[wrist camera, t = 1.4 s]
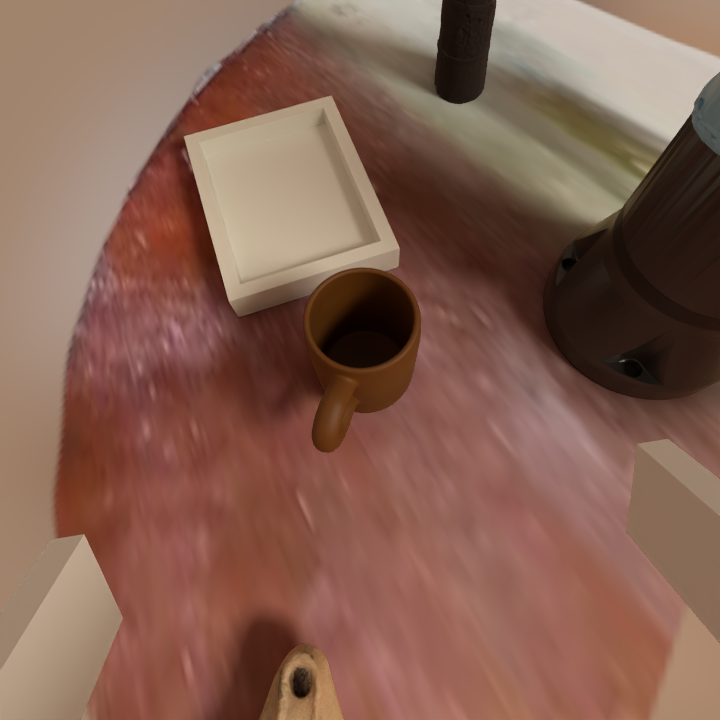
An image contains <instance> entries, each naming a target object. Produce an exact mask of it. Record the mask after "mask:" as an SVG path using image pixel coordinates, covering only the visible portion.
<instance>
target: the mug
mask: <svg viewBox="0 0 720 720" xmlns="http://www.w3.org/2000/svg"><path fill="white" fill-rule="evenodd" d="M303 330H304V335H305V342H306V346H307V350H308V353H309V356H310V359H311V362H312V364H313V367H314V370H315V372H316V375H317V377H318V380H319V382H320V385H321V387H322V388H323V390H324V394H323V397H322V399H321V401H320V404H319V406H318V409H317V412H316V415H315V419H314V423H313V428H312V440H313V444H314V446H315V447H316V448H317V449H318V450H320V451H321V452H328V453H329V452H332V451H334V450H335V449H337V448H338V447H339V446H340V444H341V442H342V440H343V439H344V437H345V434H346V432H347V430H348V427H349V424H350V421H351V419H352V416H353V413H354V412H359V413H370V412H376V411H380V410H382V409H385V408H387V407H389V406H390V405H392V404H393V403H395V402H396V401H397V400H398V399H399V398H400V397H401V396H402V395H403V394H404V392H405V391H406V389H407V387H408V386H409V383H410V381H411V378H412V374H413V369H414V366H415V361H416V357H417V352H418V347H419V342H420V334H421V315H420V309H419V306H418V303H417V300H416V298H415V296H414V295H413V293H412V292H411V290H410V289H409V288H408V287H407V286H406V285H405V284H404V283H403V282H402V281H401V280H399V279H398V278H397V277H395V276H393V275H392V274H390V273H387V272H385V271H382V270H379V269H374V268H365V267H362V268H351V269H347V270H343V271H340V272H338V273H335V274H333V275H332V276H330V277H328V278H327V279H325V280H324V281H323V282H322V283H321V284H319V285H318V286H317V288H316V289H315V290H314V291H313V293H312V294H311V296H310V297H309V299H308V301H307V303H306V306H305V309H304V314H303Z"/></svg>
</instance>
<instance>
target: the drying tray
mask: <svg viewBox="0 0 720 720" xmlns="http://www.w3.org/2000/svg"><path fill="white" fill-rule="evenodd" d="M184 139H185V142H186V146H187V150H188V153H189V157H190V161H191V164H192V168H193V172H194V175H195V179H196V183H197V187H198V190H199V194H200V198H201V201H202V205H203V209H204V212H205V216H206V220H207V223H208V227H209V231H210V234H211V238H212V242H213V245H214V249H215V253H216V256H217V260H218V264H219V267H220V271H221V275H222V278H223V282H224V286H225V289H226V293H227V297H228V300H229V303H230V304H231V306H232V308H233V309H234V311H235V313H236V314H237V316H238V317H242V316H245V315H248V314H251V313H254V312H257V311H261V310H264V309H267V308H270V307H273V306H276V305H280V304H283V303H286V302H289V301H292V300H295V299H299V298H302V297H305V296H308V295H311V294H312V293H313V291H314V290H315V289H316V288H317V286H318V285H319V284H321V283H322V282H323V281H324V280H325V279H327V278H328V277H330V276H332V275H333V274H335V273H338V272H340V271H343V270H347V269H351V268H362V267H365V268H374V269H379V270H382V271H387V270H390V269H393V268H397V267H398V266H399V253H400V247H399V245H398V243H397V241H396V238H395V236H394V234H393V232H392V229H391V227H390V225H389V223H388V221H387V218H386V216H385V214H384V212H383V209H382V207H381V205H380V203H379V200H378V198H377V196H376V194H375V191H374V189H373V187H372V185H371V183H370V180H369V178H368V176H367V174H366V171H365V169H364V167H363V165H362V162H361V160H360V158H359V156H358V154H357V151H356V149H355V147H354V145H353V142H352V140H351V138H350V136H349V133H348V131H347V129H346V127H345V125H344V122H343V120H342V118H341V116H340V113H339V111H338V109H337V107H336V104H335V102H334V100H333V98H332V95H331V96H328V97H324V98H320V99H317V100H313V101H310V102H306V103H302V104H299V105H295V106H292V107H288V108H284V109H281V110H277V111H274V112H270V113H266V114H263V115H259V116H256V117H252V118H248V119H245V120H241V121H238V122H234V123H230V124H227V125H223V126H220V127H216V128H212V129H209V130H205V131H202V132H198V133H194V134H191V135H187V136H184Z"/></svg>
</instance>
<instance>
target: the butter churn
mask: <svg viewBox="0 0 720 720" xmlns="http://www.w3.org/2000/svg"><path fill="white" fill-rule="evenodd" d="M495 9H496V0H443V1H442V10H441V28H440V35H439V39H438V43H437V47H438V53H437V63H436V71H435V85H436V87H437V93H438V94H439V95H440V96H441V97H442V98H443V99H444V100H447V101H448V102H452V103H458V104H462V103H466V102H469V101H472V100H475V99H476V98H477V97H478V96H479V95H480V94H481V93H482V91H483V89H484V84H485V76H486V68H487V61H488V52H489V48H490V40H491V32H492V26H493V21H494V16H495Z"/></svg>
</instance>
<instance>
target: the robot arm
mask: <svg viewBox="0 0 720 720" xmlns="http://www.w3.org/2000/svg"><path fill="white" fill-rule="evenodd" d="M544 312H545V318H546V322H547V325H548V328H549V330H550V333H551V335H552V337H553V339H554V341H555V342H556V344H557V346H558V347H559V349H560V350H561V352H562V353H563V354H564V355H565V357H566V358H567V359H568V360H569V361H570V362H571V363H572V364H573V365H574V366H575V367H576V368H577V369H578V370H580V371H581V372H582V373H583V374H585V375H586V376H587V377H589V378H590V379H592V380H593V381H595V382H596V383H598V384H600V385H602V386H604V387H606V388H608V389H610V390H613V391H615V392H618V393H621V394H624V395H627V396H631V397H636V398H641V399H650V400H666V399H674V398H680V397H684V396H687V395H690V394H693V393H695V392H697V391H700V390H702V389H704V388H706V387H708V386H710V385H712V384H714V383H716V382H718V381H719V380H720V72H719V73H718V74H717V75H716V76H715V77H713V78H712V79H711V80H710V81H709V82H708V83H707V84H706V86H705V87H704V88H703V90H702V91H701V93H700V94H699V96H698V98H697V99H696V101H695V103H694V109H693V112H692V114H691V115H690V116H689V118H688V119H687V121H686V122H685V123H684V125H683V126H682V127H681V129H680V130H679V132H678V133H677V134H676V136H675V137H674V138H673V140H672V141H671V142H670V144H669V145H668V146H667V148H666V149H665V150H664V152H663V153H662V154H661V156H660V157H659V159H658V160H657V161H656V163H655V164H654V165H653V167H652V168H651V169H650V171H649V172H648V173H647V175H646V176H645V177H644V179H643V180H642V181H641V183H640V184H639V186H638V187H637V188H636V190H635V191H634V192H633V194H632V195H631V196H630V198H629V199H628V201H627V202H626V203H625V205H624V206H623V208H622V209H620V210H618V211H617V212H615V213H614V214H612V215H611V216H609V217H607V218H606V219H604V220H603V221H601V222H600V223H598V224H596V225H595V226H593V227H592V228H590V229H589V230H587V231H585V232H584V233H582V234H581V235H580V236H578V237H577V238H576V239H575V240H574V241H573V242H572V243H571V244H570V245H569V246H568V247H567V248H566V249H565V250H564V252H563V253H562V254H561V256H560V258H559V259H558V261H557V262H556V264H555V265H554V267H553V269H552V270H551V272H550V274H549V277H548V279H547V282H546V285H545V290H544ZM626 533H627V534H628V535H629V536H630V537H631V539H632V540H633V541H634V542H635V543H636V544H637V546H638V547H639V548H640V549H641V550H642V552H643V553H644V554H645V555H646V556H647V558H648V559H649V560H650V561H651V562H652V563H653V565H654V566H655V567H656V568H657V569H658V571H659V572H660V573H661V574H662V575H663V577H664V578H665V579H666V580H667V581H668V582H669V584H670V585H671V586H672V587H673V588H674V590H675V591H676V592H677V593H678V594H679V596H680V597H681V598H682V599H683V600H684V601H685V603H686V604H687V605H688V606H689V607H690V608H691V610H692V611H693V612H694V613H695V614H696V616H697V617H698V618H699V619H700V620H701V622H702V623H703V624H704V625H705V626H706V628H707V629H708V630H709V631H710V632H711V633H712V635H713V636H714V637H715V638H716V639H717V640H718V642H719V643H720V479H719V478H717V477H716V476H715V475H714V474H712V473H711V472H710V471H709V470H707V469H706V468H705V467H703V466H702V465H701V464H700V463H698V462H697V461H696V460H694V459H693V458H692V457H691V456H689V455H688V454H687V453H686V452H684V451H683V450H682V449H680V448H679V447H678V446H677V445H675V444H674V443H673V442H671V441H670V440H669V439H664V440H658V441H652V442H645V443H639V444H637V449H636V457H635V465H634V473H633V482H632V490H631V498H630V507H629V515H628V523H627V531H626ZM122 619H123V617H122V615H121V612H120V610H119V608H118V606H117V604H116V602H115V600H114V597H113V595H112V593H111V591H110V589H109V587H108V584H107V582H106V580H105V578H104V576H103V574H102V572H101V569H100V567H99V565H98V563H97V561H96V559H95V556H94V554H93V552H92V550H91V548H90V546H89V544H88V541H87V539H86V537H85V535H84V534H83V535H77V536H71V537H65V538H58V539H52V540H50V541H49V543H48V544H47V546H46V547H45V549H44V550H43V551H42V553H41V554H40V556H39V557H38V559H37V560H36V562H35V563H34V564H33V566H32V567H31V569H30V570H29V572H28V573H27V574H26V576H25V577H24V579H23V580H22V582H21V583H20V585H19V586H18V587H17V589H16V590H15V592H14V593H13V595H12V596H11V598H10V599H9V600H8V602H7V603H6V605H5V606H4V608H3V609H2V611H1V612H0V720H81V717H82V715H83V713H84V710H85V708H86V705H87V703H88V701H89V698H90V696H91V693H92V691H93V689H94V686H95V684H96V681H97V679H98V677H99V674H100V672H101V669H102V667H103V665H104V662H105V660H106V657H107V655H108V653H109V650H110V648H111V645H112V643H113V641H114V638H115V636H116V633H117V631H118V629H119V626H120V624H121V622H122Z"/></svg>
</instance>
